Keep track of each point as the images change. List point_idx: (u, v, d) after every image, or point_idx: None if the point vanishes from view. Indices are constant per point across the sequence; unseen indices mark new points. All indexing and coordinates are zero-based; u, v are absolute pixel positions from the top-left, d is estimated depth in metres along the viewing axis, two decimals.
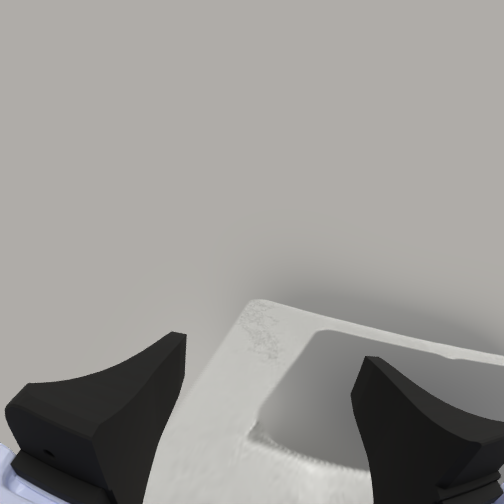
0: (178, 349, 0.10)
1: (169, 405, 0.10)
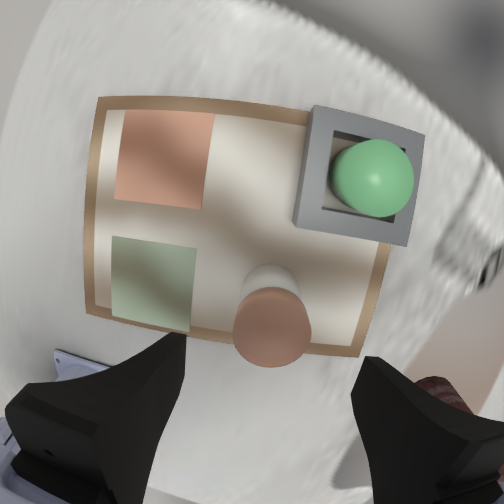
0: (178, 349, 0.10)
1: (169, 405, 0.10)
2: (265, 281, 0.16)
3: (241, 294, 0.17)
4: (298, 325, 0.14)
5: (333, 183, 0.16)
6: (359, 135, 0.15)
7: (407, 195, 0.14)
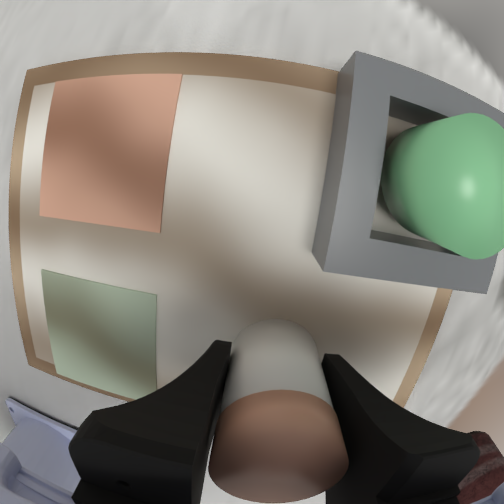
0: (228, 358, 0.10)
1: (217, 414, 0.10)
2: (267, 369, 0.09)
3: (226, 380, 0.10)
4: (327, 461, 0.06)
5: (390, 191, 0.08)
6: (431, 108, 0.07)
7: None
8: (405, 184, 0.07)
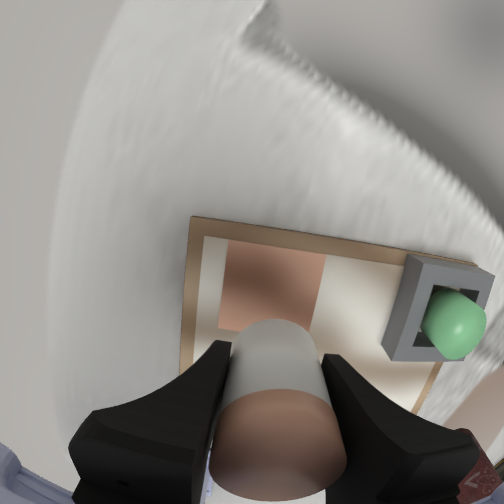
0: (228, 358, 0.10)
1: (217, 414, 0.10)
2: (262, 369, 0.09)
3: (225, 382, 0.10)
4: (324, 458, 0.06)
5: (424, 326, 0.17)
6: (450, 286, 0.16)
7: (478, 341, 0.15)
8: (431, 330, 0.16)
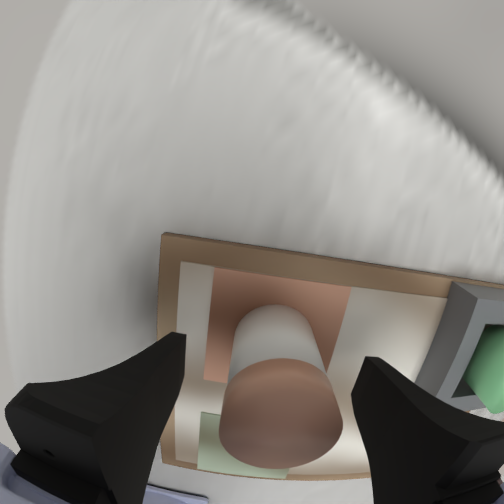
0: (178, 349, 0.10)
1: (169, 405, 0.10)
2: (266, 343, 0.10)
3: (231, 359, 0.11)
4: (322, 420, 0.08)
5: (467, 373, 0.12)
6: (503, 323, 0.11)
7: None
8: (478, 381, 0.11)
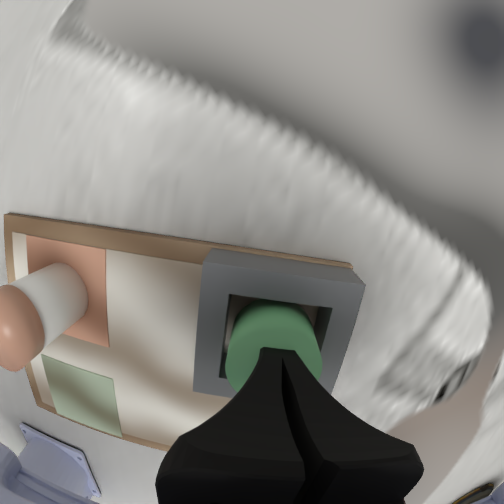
0: None
1: None
2: (19, 279, 0.12)
3: None
4: (9, 328, 0.09)
5: None
6: (265, 298, 0.13)
7: None
8: None
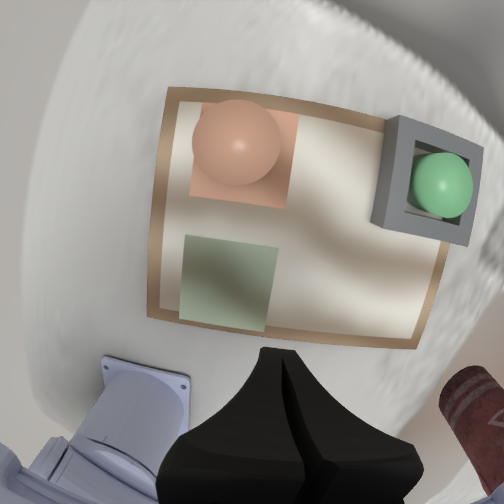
0: None
1: None
2: None
3: None
4: (265, 130, 0.12)
5: None
6: (435, 145, 0.15)
7: (468, 200, 0.15)
8: (414, 184, 0.16)
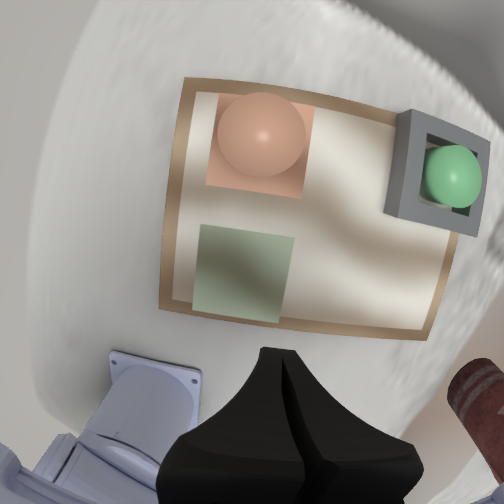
0: None
1: None
2: None
3: None
4: (291, 124, 0.12)
5: None
6: (445, 138, 0.15)
7: (477, 191, 0.15)
8: (426, 175, 0.16)
